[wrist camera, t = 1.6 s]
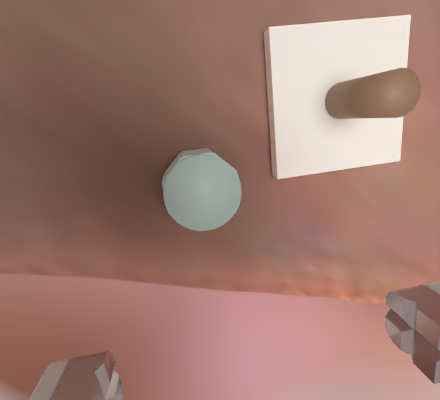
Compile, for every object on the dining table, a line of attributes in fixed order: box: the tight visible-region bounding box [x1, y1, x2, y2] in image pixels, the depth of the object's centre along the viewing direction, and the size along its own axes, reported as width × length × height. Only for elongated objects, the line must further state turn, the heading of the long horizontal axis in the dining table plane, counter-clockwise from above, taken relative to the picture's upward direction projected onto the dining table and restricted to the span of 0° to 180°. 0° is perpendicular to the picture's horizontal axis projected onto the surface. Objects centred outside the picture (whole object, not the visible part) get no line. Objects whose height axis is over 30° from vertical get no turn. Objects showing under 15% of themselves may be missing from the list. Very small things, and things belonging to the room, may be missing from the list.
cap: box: [162, 148, 242, 231], centre depth 25 cm, size 6×6×5 cm
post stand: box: [264, 15, 421, 179], centre depth 23 cm, size 13×13×8 cm
